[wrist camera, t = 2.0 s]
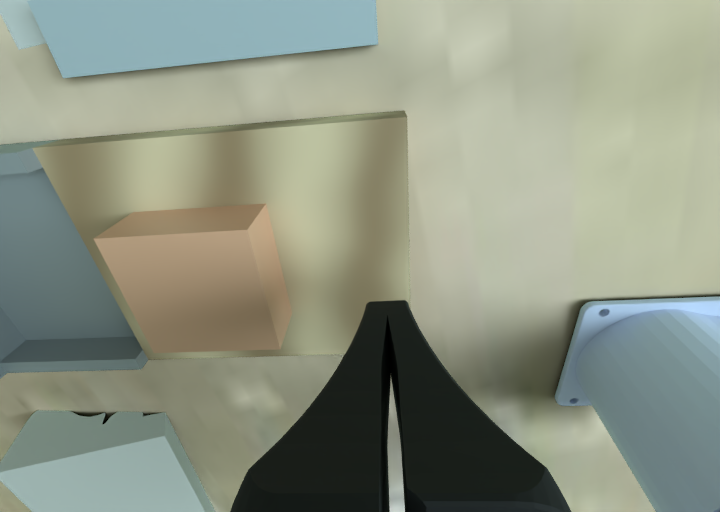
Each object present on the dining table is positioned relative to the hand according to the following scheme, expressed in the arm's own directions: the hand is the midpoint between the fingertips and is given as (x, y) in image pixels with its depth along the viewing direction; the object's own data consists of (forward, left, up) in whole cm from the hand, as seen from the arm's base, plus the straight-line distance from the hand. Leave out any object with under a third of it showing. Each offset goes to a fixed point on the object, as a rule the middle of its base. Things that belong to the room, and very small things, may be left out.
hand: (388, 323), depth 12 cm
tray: (+18, 0, -6) cm, 19 cm away
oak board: (+6, 0, -6) cm, 9 cm away
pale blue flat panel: (+6, -9, -6) cm, 13 cm away
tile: (+8, 0, -5) cm, 9 cm away
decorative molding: (+22, +30, -7) cm, 37 cm away
